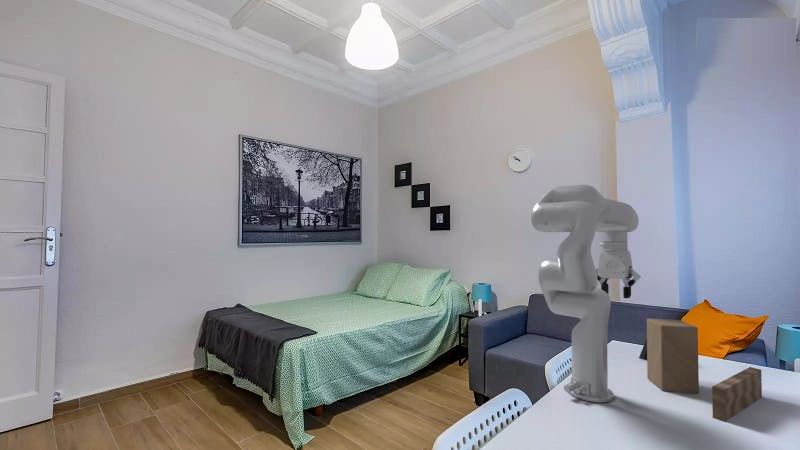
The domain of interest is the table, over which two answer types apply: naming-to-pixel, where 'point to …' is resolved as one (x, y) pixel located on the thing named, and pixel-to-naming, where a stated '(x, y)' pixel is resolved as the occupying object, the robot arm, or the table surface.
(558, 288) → the robot arm
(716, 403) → the walnut board
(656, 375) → the wooden block
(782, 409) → the table surface
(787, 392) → the table surface
